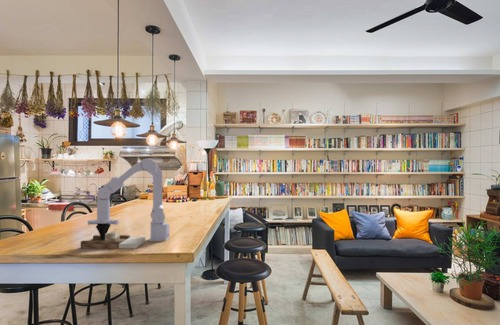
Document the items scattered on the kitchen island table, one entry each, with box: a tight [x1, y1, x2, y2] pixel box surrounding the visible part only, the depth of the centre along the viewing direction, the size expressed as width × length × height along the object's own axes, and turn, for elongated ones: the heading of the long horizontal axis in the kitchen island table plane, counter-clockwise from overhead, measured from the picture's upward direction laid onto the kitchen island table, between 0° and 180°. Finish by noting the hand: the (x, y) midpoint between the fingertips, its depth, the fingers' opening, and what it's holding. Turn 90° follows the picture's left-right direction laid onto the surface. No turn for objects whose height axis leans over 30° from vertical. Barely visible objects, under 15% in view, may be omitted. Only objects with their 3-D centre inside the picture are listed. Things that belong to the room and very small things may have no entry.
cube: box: [105, 230, 121, 241], centre depth 141 cm, size 5×5×4 cm
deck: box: [80, 234, 146, 249], centre depth 141 cm, size 26×13×3 cm, turn 91°
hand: (103, 238), depth 141 cm, fingers closed
